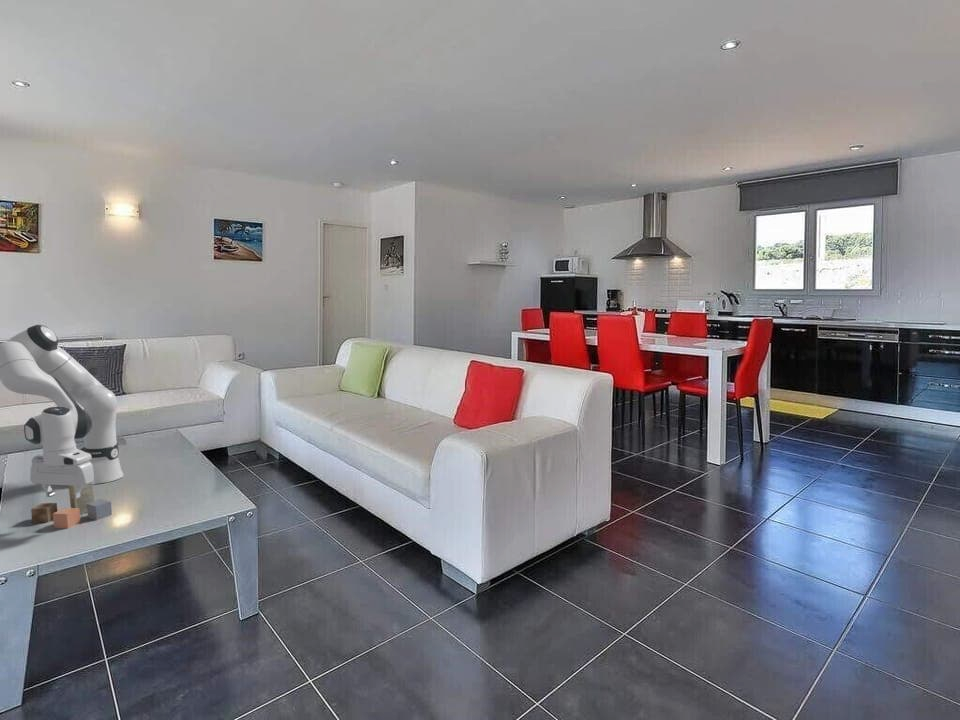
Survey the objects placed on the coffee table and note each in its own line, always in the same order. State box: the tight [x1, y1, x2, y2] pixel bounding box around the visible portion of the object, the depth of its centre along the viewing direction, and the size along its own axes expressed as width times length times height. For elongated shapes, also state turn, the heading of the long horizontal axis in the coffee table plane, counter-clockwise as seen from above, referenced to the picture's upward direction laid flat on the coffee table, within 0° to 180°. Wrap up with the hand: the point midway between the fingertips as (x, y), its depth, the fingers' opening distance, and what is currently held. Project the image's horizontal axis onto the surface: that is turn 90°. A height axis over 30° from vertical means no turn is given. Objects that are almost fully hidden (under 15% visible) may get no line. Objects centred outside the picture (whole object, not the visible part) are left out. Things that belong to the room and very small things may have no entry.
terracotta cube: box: [52, 507, 81, 529], centre depth 185 cm, size 5×5×5 cm
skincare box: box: [68, 482, 96, 515], centre depth 195 cm, size 6×4×12 cm
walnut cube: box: [30, 502, 58, 524], centre depth 189 cm, size 5×5×5 cm
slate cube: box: [86, 498, 113, 521], centre depth 192 cm, size 5×5×5 cm
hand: (63, 496), depth 184 cm, fingers open, 8 cm apart
